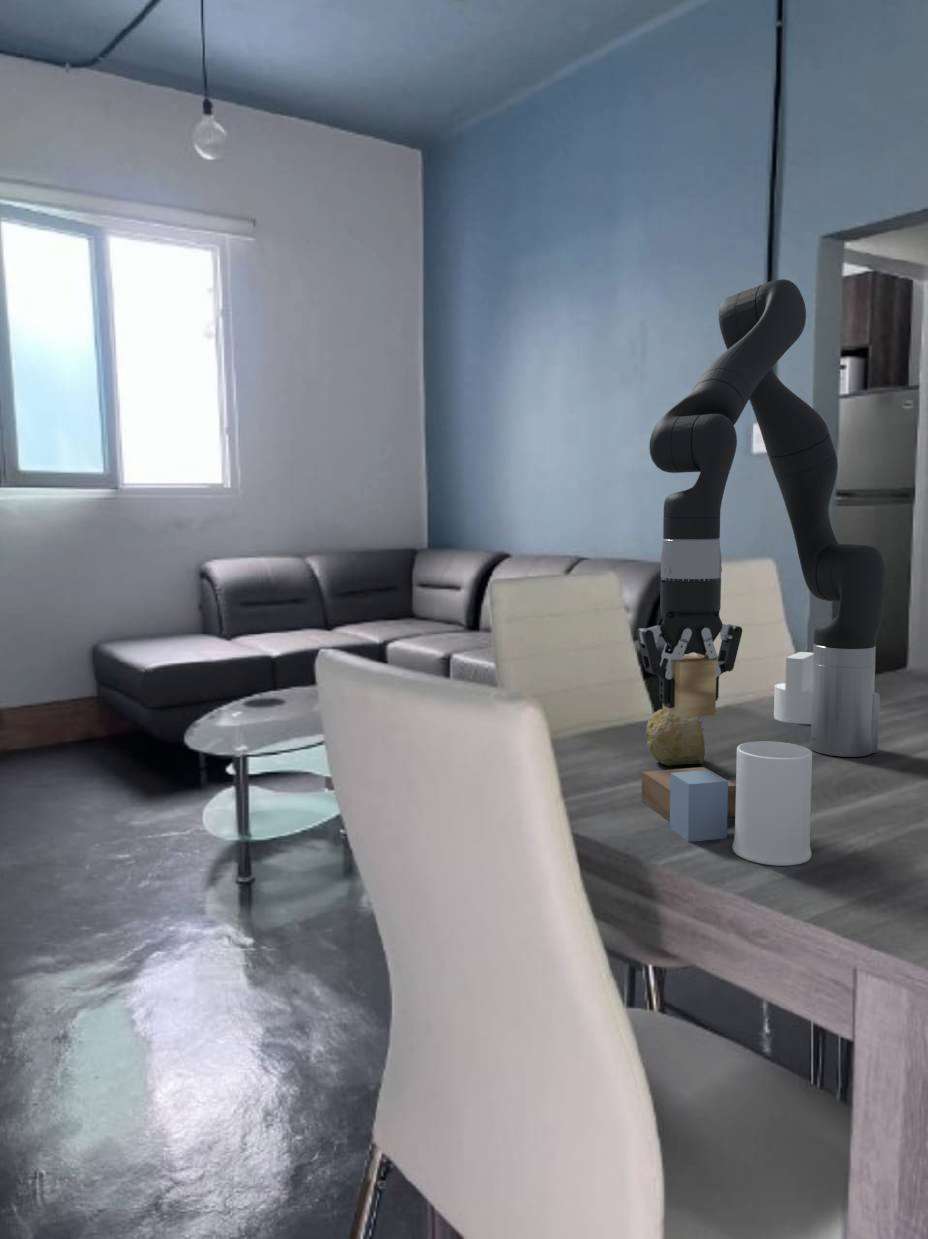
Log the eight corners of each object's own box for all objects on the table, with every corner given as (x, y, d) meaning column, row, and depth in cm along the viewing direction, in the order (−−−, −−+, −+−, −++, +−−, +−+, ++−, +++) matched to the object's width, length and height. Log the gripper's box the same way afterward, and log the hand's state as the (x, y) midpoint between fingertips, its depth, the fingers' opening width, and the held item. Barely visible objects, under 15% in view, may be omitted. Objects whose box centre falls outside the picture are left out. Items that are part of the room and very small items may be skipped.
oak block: (697, 707, 123) (698, 655, 123) (715, 715, 118) (716, 661, 118) (662, 709, 122) (663, 656, 121) (679, 717, 117) (679, 662, 117)
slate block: (707, 824, 115) (708, 769, 114) (726, 838, 110) (727, 781, 110) (669, 828, 114) (670, 772, 113) (688, 842, 109) (688, 784, 109)
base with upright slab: (782, 711, 180) (784, 650, 179) (830, 717, 175) (832, 654, 173) (767, 720, 173) (769, 656, 171) (817, 726, 168) (819, 660, 166)
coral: (730, 726, 138) (669, 700, 137) (700, 786, 140) (640, 760, 139) (714, 708, 147) (657, 684, 147) (686, 764, 149) (630, 740, 148)
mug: (732, 827, 114) (734, 732, 113) (806, 833, 112) (809, 735, 110) (732, 862, 103) (734, 756, 101) (814, 869, 100) (817, 761, 99)
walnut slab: (703, 795, 127) (703, 767, 127) (735, 816, 118) (736, 785, 118) (641, 800, 125) (641, 771, 125) (670, 821, 116) (670, 790, 116)
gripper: (727, 571, 123) (725, 697, 125) (626, 574, 120) (625, 703, 122) (757, 575, 116) (753, 708, 118) (650, 577, 113) (648, 714, 115)
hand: (688, 705), depth 120 cm, fingers closed on oak block, 5 cm apart
